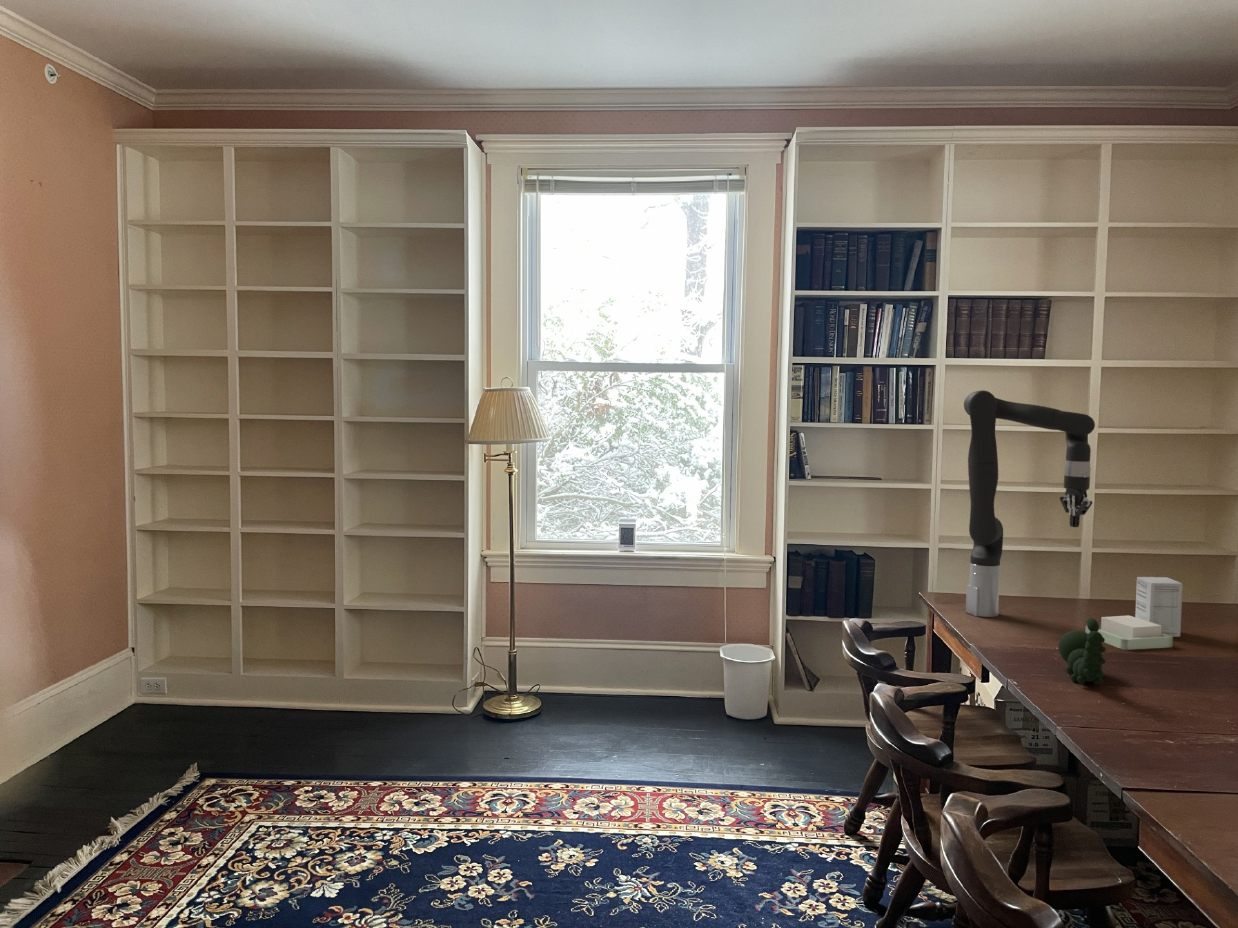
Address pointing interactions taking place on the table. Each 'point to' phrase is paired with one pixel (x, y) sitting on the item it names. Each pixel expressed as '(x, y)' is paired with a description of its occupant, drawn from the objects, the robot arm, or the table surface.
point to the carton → (1130, 627)
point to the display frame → (1136, 641)
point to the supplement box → (1160, 603)
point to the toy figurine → (1084, 654)
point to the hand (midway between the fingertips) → (1074, 526)
